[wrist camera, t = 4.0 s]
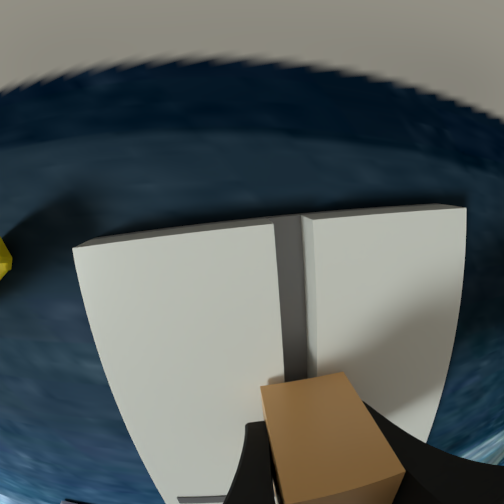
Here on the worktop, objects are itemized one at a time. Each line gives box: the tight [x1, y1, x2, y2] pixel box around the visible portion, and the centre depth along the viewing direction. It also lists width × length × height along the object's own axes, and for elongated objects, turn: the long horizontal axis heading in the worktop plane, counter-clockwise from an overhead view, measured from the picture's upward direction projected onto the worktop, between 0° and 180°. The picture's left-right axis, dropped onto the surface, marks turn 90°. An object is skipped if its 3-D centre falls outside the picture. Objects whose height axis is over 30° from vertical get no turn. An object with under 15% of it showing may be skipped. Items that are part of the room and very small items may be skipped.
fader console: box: [72, 203, 466, 504], centre depth 12 cm, size 17×14×2 cm
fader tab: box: [260, 372, 406, 504], centre depth 9 cm, size 4×3×7 cm
